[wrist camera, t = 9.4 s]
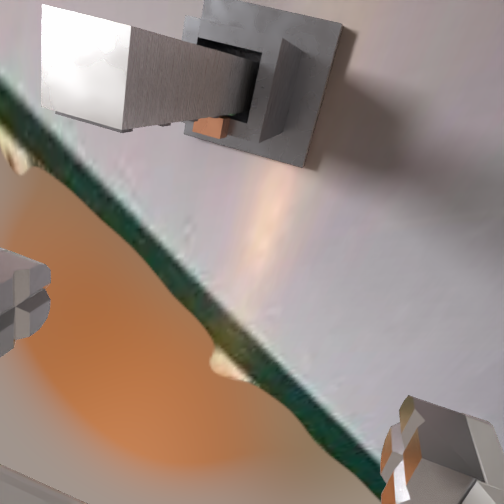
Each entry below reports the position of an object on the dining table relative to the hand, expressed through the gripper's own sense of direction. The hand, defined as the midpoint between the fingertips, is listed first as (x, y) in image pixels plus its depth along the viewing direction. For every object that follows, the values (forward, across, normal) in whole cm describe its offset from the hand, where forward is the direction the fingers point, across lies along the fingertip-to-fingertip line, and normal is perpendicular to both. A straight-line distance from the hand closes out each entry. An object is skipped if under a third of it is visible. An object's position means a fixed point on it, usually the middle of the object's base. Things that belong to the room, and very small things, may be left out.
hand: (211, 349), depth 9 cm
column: (+31, -10, +4) cm, 33 cm away
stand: (+39, -10, +4) cm, 41 cm away
